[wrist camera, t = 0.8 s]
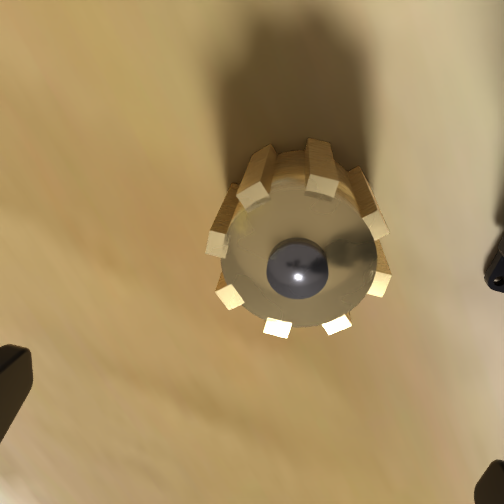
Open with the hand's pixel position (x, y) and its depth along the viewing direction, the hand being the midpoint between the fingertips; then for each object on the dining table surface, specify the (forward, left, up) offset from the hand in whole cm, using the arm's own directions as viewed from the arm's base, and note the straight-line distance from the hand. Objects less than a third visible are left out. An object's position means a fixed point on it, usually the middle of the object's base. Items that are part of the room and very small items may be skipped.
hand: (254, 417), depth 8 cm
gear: (-1, 0, -12) cm, 12 cm away
